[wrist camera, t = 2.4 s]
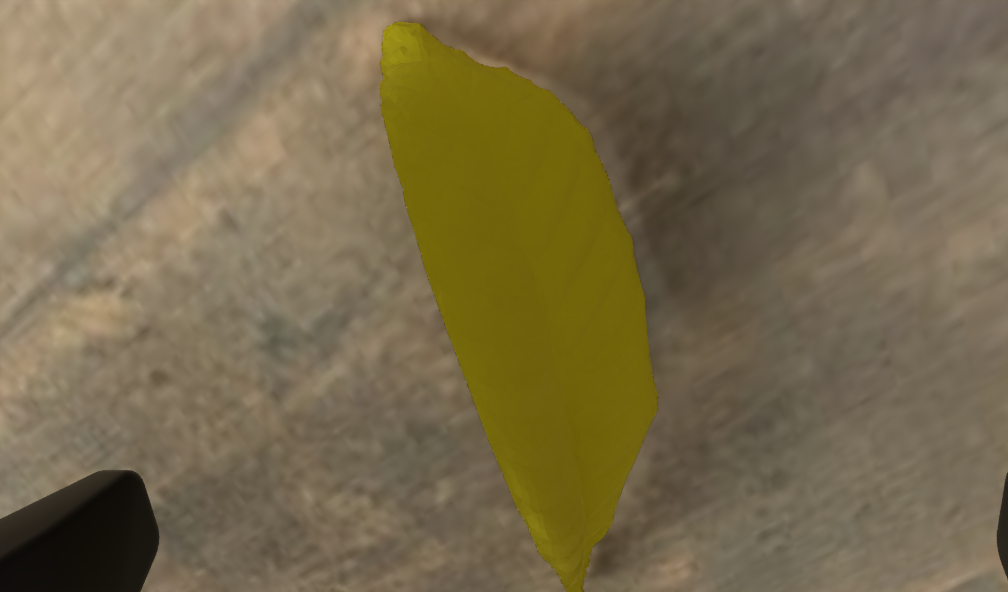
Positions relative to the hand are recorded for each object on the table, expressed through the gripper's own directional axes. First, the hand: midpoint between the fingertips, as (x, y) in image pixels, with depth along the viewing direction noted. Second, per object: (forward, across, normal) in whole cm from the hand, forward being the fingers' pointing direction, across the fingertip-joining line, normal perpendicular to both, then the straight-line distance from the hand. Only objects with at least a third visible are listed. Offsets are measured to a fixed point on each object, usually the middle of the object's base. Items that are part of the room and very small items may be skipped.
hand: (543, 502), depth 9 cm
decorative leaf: (+4, 0, 0) cm, 4 cm away
